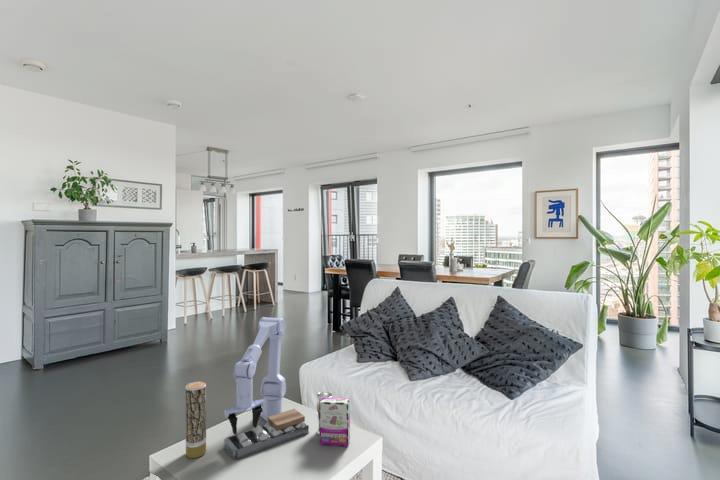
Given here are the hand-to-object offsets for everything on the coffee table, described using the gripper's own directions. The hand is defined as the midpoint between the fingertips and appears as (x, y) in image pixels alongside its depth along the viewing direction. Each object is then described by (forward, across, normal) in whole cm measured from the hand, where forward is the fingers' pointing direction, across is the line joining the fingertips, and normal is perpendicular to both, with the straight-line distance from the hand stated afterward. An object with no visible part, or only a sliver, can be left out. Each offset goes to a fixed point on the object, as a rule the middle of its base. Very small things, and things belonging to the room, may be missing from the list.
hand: (244, 429), depth 139 cm
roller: (+7, 0, 0) cm, 7 cm away
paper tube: (+7, -16, +7) cm, 18 cm away
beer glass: (+7, +30, -9) cm, 32 cm away
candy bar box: (+7, +28, -18) cm, 34 cm away
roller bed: (+7, +9, 0) cm, 11 cm away
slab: (+2, +17, 0) cm, 17 cm away
